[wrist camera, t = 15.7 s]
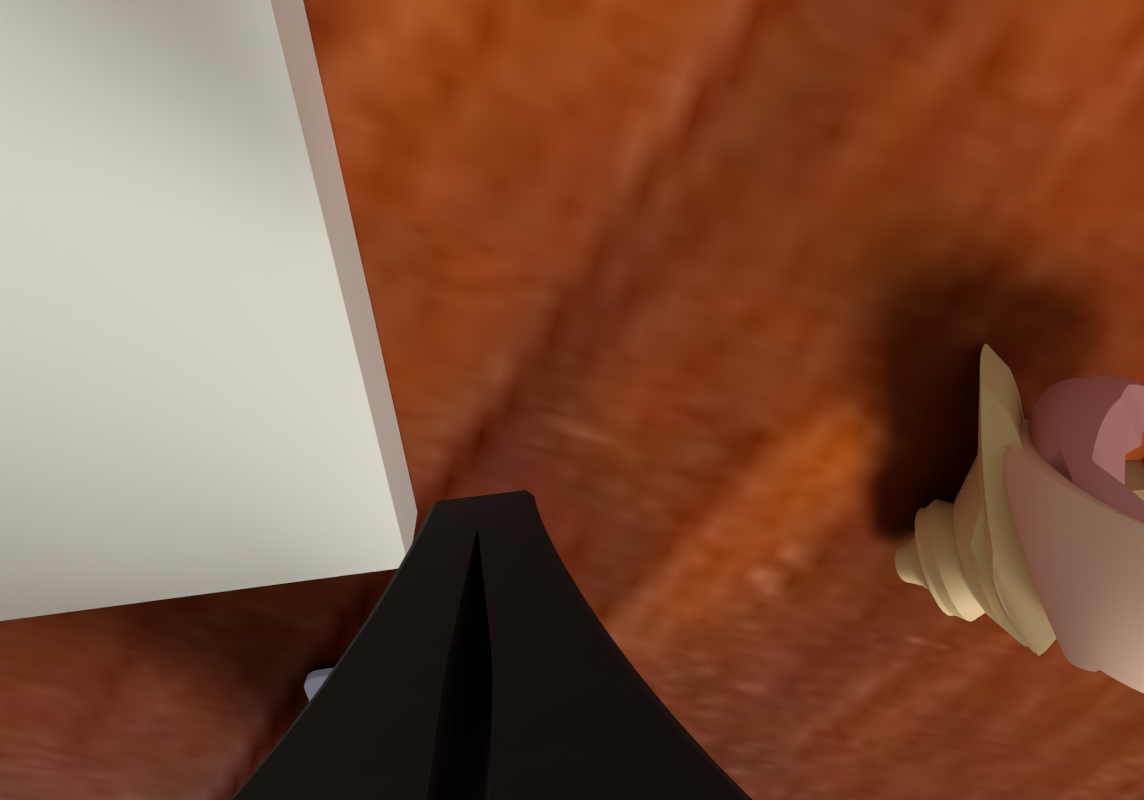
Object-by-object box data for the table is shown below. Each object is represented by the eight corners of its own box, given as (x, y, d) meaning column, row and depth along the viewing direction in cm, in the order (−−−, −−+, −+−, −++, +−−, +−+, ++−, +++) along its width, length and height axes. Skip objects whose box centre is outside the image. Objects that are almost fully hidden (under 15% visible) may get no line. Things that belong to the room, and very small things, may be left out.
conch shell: (954, 594, 25) (906, 751, 18) (861, 367, 25) (776, 434, 18) (1279, 570, 19) (1399, 789, 12) (1156, 273, 19) (1203, 315, 12)
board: (417, 512, 20) (408, 566, 17) (13, 563, 19) (-51, 627, 16) (271, -141, 12) (224, -190, 10) (-410, -112, 11) (-629, -159, 9)
